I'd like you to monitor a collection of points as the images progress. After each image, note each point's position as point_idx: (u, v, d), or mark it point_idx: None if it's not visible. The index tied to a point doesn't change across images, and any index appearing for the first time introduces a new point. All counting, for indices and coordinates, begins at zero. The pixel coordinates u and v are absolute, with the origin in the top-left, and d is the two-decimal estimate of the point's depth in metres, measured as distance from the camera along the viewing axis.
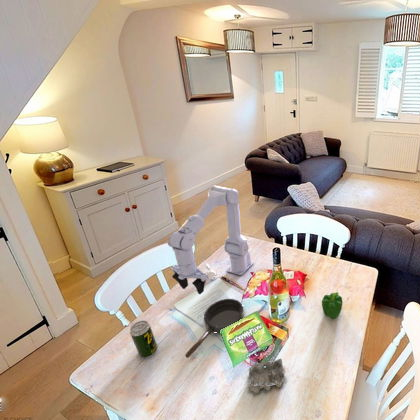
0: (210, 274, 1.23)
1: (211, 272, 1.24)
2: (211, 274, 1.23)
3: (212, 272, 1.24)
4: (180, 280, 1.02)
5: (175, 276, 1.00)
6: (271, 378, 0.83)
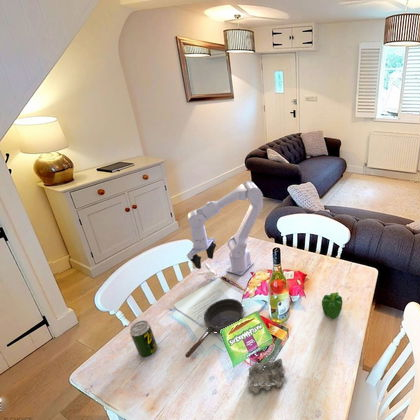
0: (210, 274, 1.23)
1: (211, 272, 1.24)
2: (211, 274, 1.23)
3: (212, 272, 1.24)
4: (206, 249, 1.22)
5: None
6: (271, 378, 0.83)
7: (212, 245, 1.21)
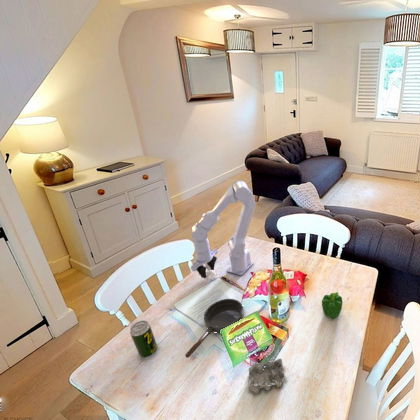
0: (210, 274, 1.23)
1: (211, 272, 1.24)
2: (211, 274, 1.23)
3: (212, 272, 1.24)
4: (207, 262, 1.25)
5: None
6: (271, 378, 0.83)
7: (213, 258, 1.24)
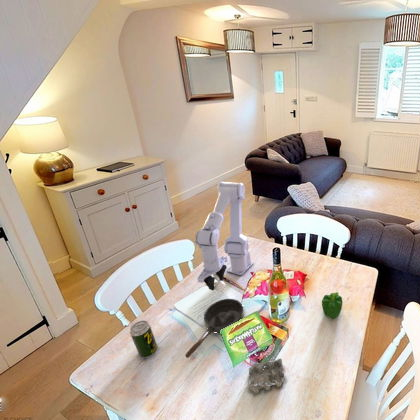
0: (219, 285, 1.07)
1: (220, 283, 1.07)
2: (220, 285, 1.07)
3: (221, 283, 1.08)
4: (215, 271, 1.09)
5: None
6: (271, 378, 0.83)
7: (222, 267, 1.08)
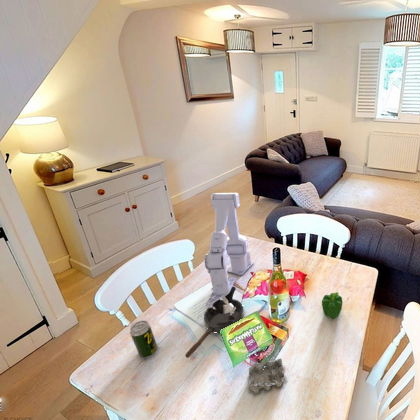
0: (228, 308, 1.02)
1: (229, 306, 1.02)
2: (229, 308, 1.02)
3: (230, 306, 1.03)
4: None
5: None
6: (271, 378, 0.83)
7: (231, 289, 1.03)
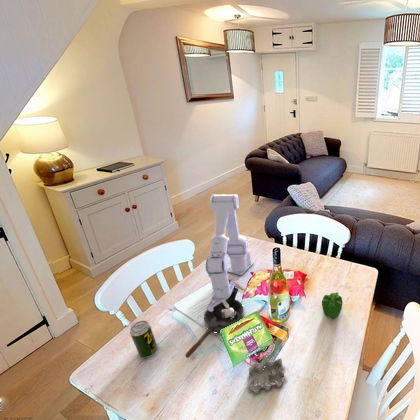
0: (228, 313, 1.03)
1: (230, 310, 1.03)
2: (230, 313, 1.03)
3: (231, 310, 1.04)
4: None
5: None
6: (271, 378, 0.83)
7: (234, 291, 1.05)
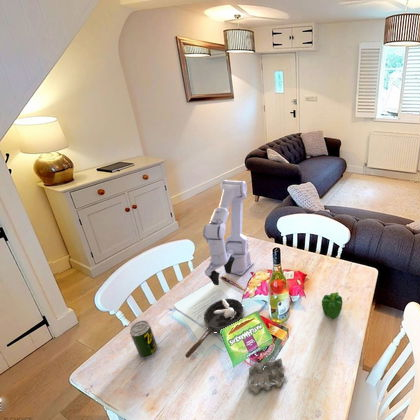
0: (228, 313, 1.03)
1: (230, 310, 1.03)
2: (230, 313, 1.03)
3: (231, 310, 1.04)
4: None
5: None
6: (271, 378, 0.83)
7: (230, 259, 1.11)
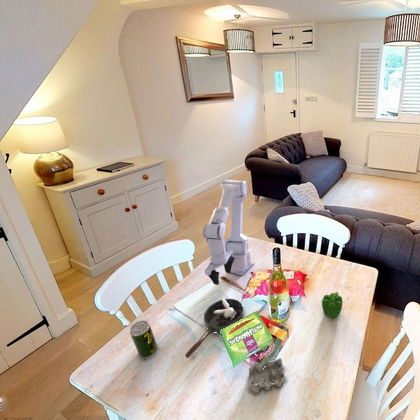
0: (228, 313, 1.03)
1: (230, 310, 1.03)
2: (230, 313, 1.03)
3: (231, 310, 1.04)
4: None
5: None
6: (271, 378, 0.83)
7: (230, 259, 1.11)
